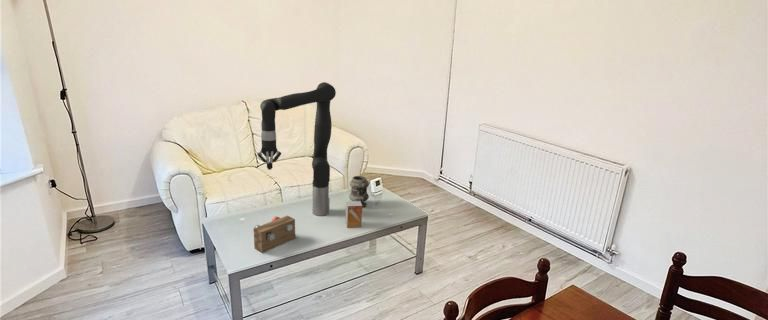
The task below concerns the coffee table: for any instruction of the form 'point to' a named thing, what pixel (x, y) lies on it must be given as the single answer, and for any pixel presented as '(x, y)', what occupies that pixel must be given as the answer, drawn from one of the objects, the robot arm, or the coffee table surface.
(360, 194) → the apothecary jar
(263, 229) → the walnut housing
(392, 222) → the coffee table surface
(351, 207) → the small box
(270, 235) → the grey plunger
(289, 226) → the red plunger
